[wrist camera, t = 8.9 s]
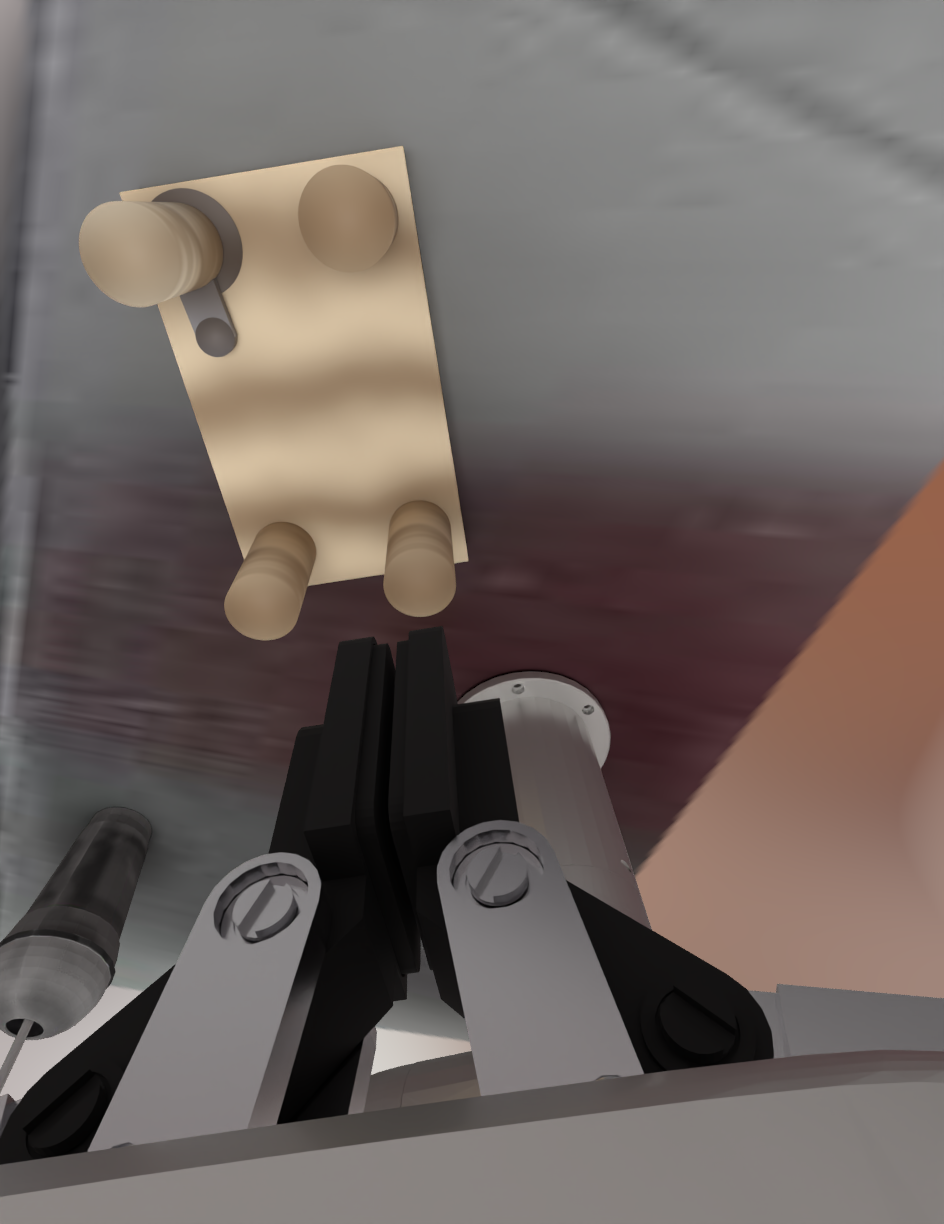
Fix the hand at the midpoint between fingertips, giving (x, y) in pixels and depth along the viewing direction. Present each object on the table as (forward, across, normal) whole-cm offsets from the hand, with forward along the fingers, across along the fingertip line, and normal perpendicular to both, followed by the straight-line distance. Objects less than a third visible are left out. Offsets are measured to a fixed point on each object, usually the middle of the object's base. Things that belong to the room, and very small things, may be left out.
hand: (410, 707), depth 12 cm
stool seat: (+31, +6, +1) cm, 32 cm away
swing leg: (+28, +10, -5) cm, 31 cm away
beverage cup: (+31, +29, +31) cm, 53 cm away
